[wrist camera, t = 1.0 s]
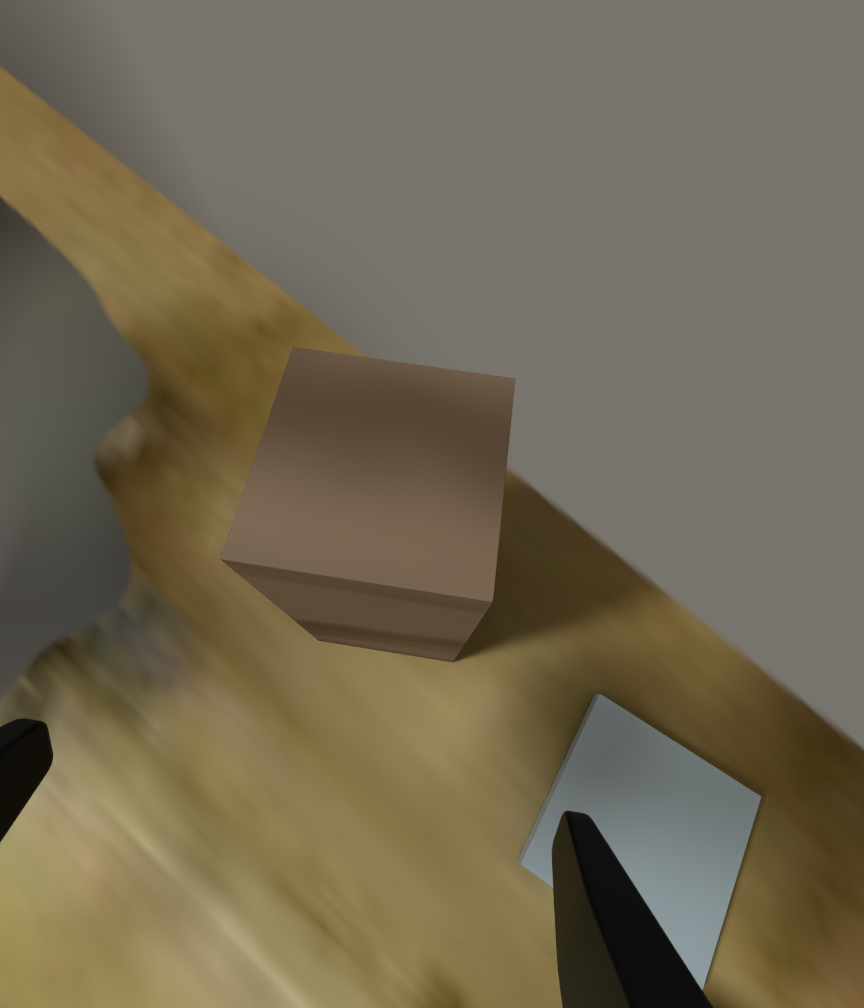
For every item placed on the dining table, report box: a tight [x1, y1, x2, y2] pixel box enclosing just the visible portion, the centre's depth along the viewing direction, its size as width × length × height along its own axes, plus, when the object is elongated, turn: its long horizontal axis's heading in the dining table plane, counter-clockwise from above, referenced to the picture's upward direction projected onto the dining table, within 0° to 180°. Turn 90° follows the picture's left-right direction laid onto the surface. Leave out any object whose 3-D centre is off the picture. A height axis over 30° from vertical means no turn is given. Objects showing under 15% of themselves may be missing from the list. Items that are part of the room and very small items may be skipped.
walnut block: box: [220, 347, 515, 662], centre depth 17 cm, size 6×6×12 cm
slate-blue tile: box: [518, 693, 761, 990], centre depth 19 cm, size 7×7×1 cm
